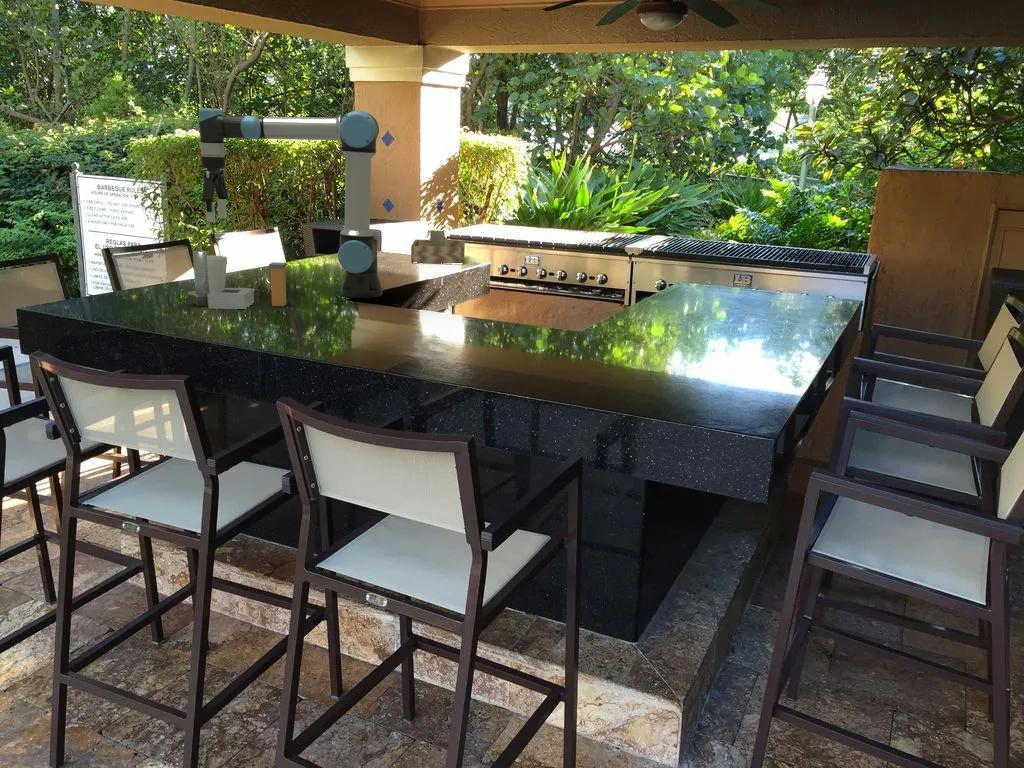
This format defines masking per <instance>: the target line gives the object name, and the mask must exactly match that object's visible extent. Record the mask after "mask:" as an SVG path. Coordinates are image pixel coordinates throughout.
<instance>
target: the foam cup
mask: <svg viewBox="0 0 1024 768" xmlns="http://www.w3.org/2000/svg"><path fill="white" fill-rule="evenodd" d="M207 261H208V277H209V290H210V291H213V290H215V289H217V288H226V279H227V277H226V276H227V265H228V257H227V256H224V255H207Z"/></svg>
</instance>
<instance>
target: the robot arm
mask: <svg viewBox="0 0 1024 768" xmlns="http://www.w3.org/2000/svg"><path fill="white" fill-rule="evenodd" d="M198 129H199V141H200V145H199V146H198V147H199V149H200V155H201V156H202V157H201V167H202V168H203V169H207V171H204V172H203V187H202V189H203V190H202V199H201V200H202V201H201V202H202V203H205V219H206V222H207V223H215V222H216V214H215V202H214V197H215V192H216V195H217V199H216V200H217V212H218V218H219V219H228V214H227V213H228V211H227V200H229V196H228V189H227V185H226V181H225V175H224V170H223V169H225V168H226V159H225V157H224V156H225V142H224V139H234V140H235V139H236V140H237V139H238V140H299V141H301V140H302V141H303V140H308V141H311V140H312V141H317V140H318V141H338V142H339V143H341V144H340V145H341V146H340V147H341V148H340V149H341V150H340V151H341V154H343V155H344V157H345V172H344V173H345V174H344V175H345V180H344V182H345V183H344V184H345V186H344V191H345V192H344V228H343V229H342V230H341V231H340V232H339V249H338V251H337V259H338V262H339V265H340V267H342V269H344V270H345V273H344V274H345V275H344V278H343V281H342V284H341V288H340V295H342V296H343V297H348V298H355V299H356V298H361V299H367V298H368V299H369V298H377V297H381V296H383V287H382V284H381V281H380V278H379V275H378V274H379V273H378V242H379V239H378V235H377V234H376V232H372V230H371V229H370V227H371V225H370V224H371V223H370V220H371V185H372V184H371V181H372V178H371V177H372V176H371V175H372V158H373V157H374V156H376V154H377V139H378V136H379V134H380V127H379V123H378V121H377V119H376V118H375V117H374V116H373V115H372V114H370V113H368V112H365V111H363V110H353V111H350V112H348V113H347V114H339V116H337V117H316V116H315V117H311V116H309V117H306V116H298V117H297V116H255V115H254V116H253V115H249V114H247V115H237V114H236V115H234V114H232V115H229V114H223V110H222V109H221V108H211V107H210V108H209V107H208V108H205V107H204V108H203V107H202V108H200V109H199V110H198Z"/></svg>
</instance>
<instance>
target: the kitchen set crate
mask: <svg viewBox="0 0 1024 768" xmlns="http://www.w3.org/2000/svg"><path fill="white" fill-rule="evenodd" d="M424 243H430V239H414V240H413V242H412V244H411V247H410V263H411V262H417V263H416V264H420V263H423V264H422V265H424V264H425V265H426V264H427V265H444V264H443V263H465V251H466V250H465V246H466V245H465V244H466V241H465V240H446V239H444V247H436V246H419V245H421V244H424ZM441 263H442V264H441Z"/></svg>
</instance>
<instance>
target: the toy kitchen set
mask: <svg viewBox="0 0 1024 768" xmlns="http://www.w3.org/2000/svg"><path fill="white" fill-rule="evenodd" d="M446 238H447V237H446V234H445V230H434V229H433V230H431V229H430V238H429V240H430V243H424V244H421V245H419V246H436V247H444V240H446Z"/></svg>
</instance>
